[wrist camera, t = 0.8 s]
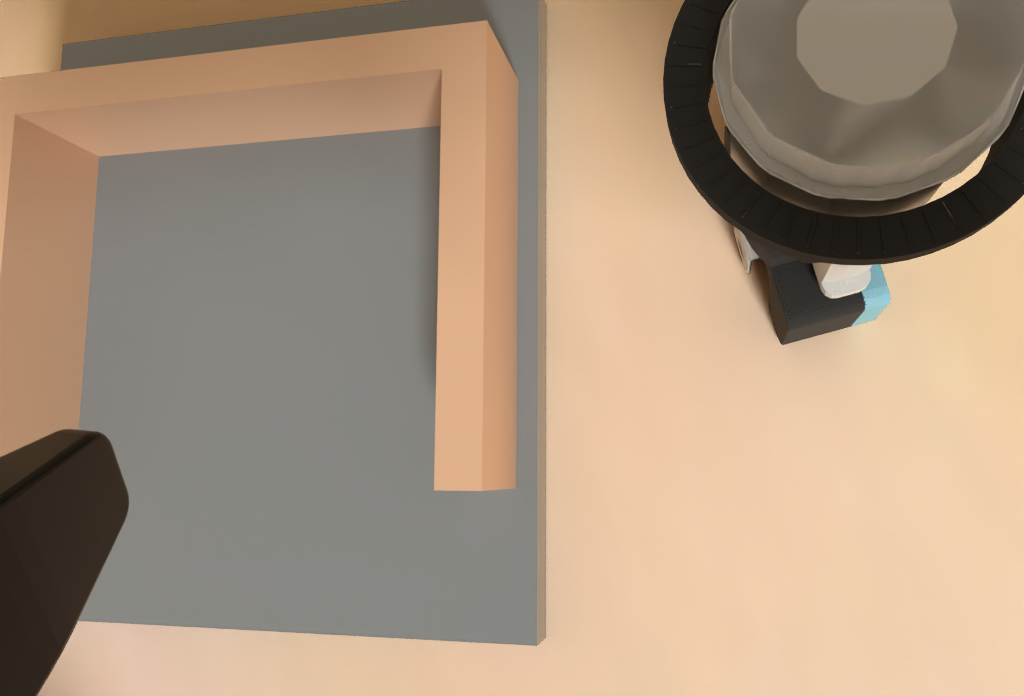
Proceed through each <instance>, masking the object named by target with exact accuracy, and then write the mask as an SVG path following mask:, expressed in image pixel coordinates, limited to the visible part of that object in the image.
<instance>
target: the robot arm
mask: <svg viewBox="0 0 1024 696" xmlns="http://www.w3.org/2000/svg"><path fill="white" fill-rule="evenodd" d="M128 509H129V494H128V490H127V487H126V485H125V482H124V479H123V476H122V473H121V470H120V467H119V464H118V461H117V458H116V455H115V452H114V450H113V447H112V444H111V442H110V440H109V439H108V438H107V437H106V436H105V435H104V434H102V433H100V432H97V431H88V430H77V429H63V430H59V431H56V432H54V433H52V434H50V435H47V436H45V437H43V438H41V439H39V440H36V441H34V442H32V443H30V444H28V445H25V446H23V447H21V448H19V449H17V450H14V451H12V452H10V453H8V454H6V455H3V456H1V457H0V696H37V695H38V693H39V691H40V690H41V688H42V686H43V685H44V683H45V681H46V680H47V678H48V676H49V675H50V673H51V671H52V669H53V668H54V666H55V664H56V662H57V661H58V659H59V657H60V655H61V654H62V652H63V650H64V648H65V646H66V644H67V642H68V640H69V638H70V636H71V634H72V632H73V630H74V628H75V626H76V624H77V622H78V619H79V617H80V615H81V613H82V611H83V609H84V607H85V605H86V603H87V600H88V598H89V596H90V594H91V592H92V590H93V588H94V586H95V584H96V581H97V579H98V577H99V575H100V573H101V571H102V569H103V567H104V564H105V562H106V560H107V558H108V556H109V554H110V552H111V550H112V548H113V545H114V543H115V541H116V539H117V537H118V535H119V533H120V531H121V528H122V526H123V524H124V522H125V520H126V517H127V513H128Z"/></svg>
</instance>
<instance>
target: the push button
mask: <svg viewBox="0 0 1024 696" xmlns="http://www.w3.org/2000/svg"><path fill="white" fill-rule="evenodd" d="M713 82H714V84H715V88H716V92H717V96H718V100H719V103H720V107H721V111H722V115H723V119H724V121H725V123H726V125H727V126H726V127H725V147H724V146H723V144H722V143H721V141H720V138H719V136H718V134H717V132H716V130H715V128H714V125H713V122H712V119H711V116H710V113H709V109H708V102H709V97H710V93H711V88H712V85H713ZM663 86H664V102H665V109H666V117H667V123H668V127H669V131H670V135H671V139H672V143H673V145H674V148H675V151H676V153H677V156H678V158H679V161H680V163H681V164H682V166H683V168H684V170H685V172H686V174H687V176H688V177H689V179H690V180H691V182H692V183H693V185H694V186H695V188H696V189H697V191H698V192H699V193H700V194H701V196H702V197H703V198H704V199H705V200H706V201H707V202H708V204H709V205H710V206H711V207H712V208H713V209H714V210H715V211H716V212H717V213H718V214H720V215H721V216H722V217H723V218H724V219H725V220H726V221H727V222H729V223H730V224H732V225H733V226H734V234H735V238H736V242H737V245H738V248H739V252H740V255H741V258H742V261H743V265H744V268H745V270H746V273H747V274H748V273H750V270H751V261H752V260H754V259H757V258H761V259H762V260H763V261H764V262H765V265H766V268H767V272H768V277H769V307H770V312H771V316H772V319H773V323H774V326H775V329H776V332H777V336H778V338H779V341H780V343H781V344H782V345H784V344H788V343H791V342H795V341H799V340H802V339H806V338H810V337H813V336H817V335H821V334H825V333H828V332H832V331H836V330H839V329H843V328H847V327H850V326H854V325H858V324H861V323H865V322H869V321H872V320H875V319H876V318H877V316H878V315H879V314H880V313H881V312H882V311H883V310H884V309H885V308H886V307H887V306H888V305H889V304H890V293H889V289H888V286H887V283H886V280H885V277H884V274H883V271H882V268H881V265H880V264H888V263H893V262H899V261H905V260H910V259H913V258H917V257H920V256H924V255H928V254H931V253H934V252H936V251H939V250H941V249H944V248H946V247H949V246H952V245H954V244H956V243H958V242H960V241H961V240H963V239H965V238H967V237H969V236H971V235H973V234H975V233H976V232H978V231H979V230H981V229H982V228H984V227H986V226H987V225H989V224H990V223H992V222H993V221H994V220H995V219H997V218H998V217H999V216H1000V215H1002V214H1003V213H1004V212H1005V211H1007V210H1008V209H1009V208H1010V207H1011V206H1012V205H1013V204H1015V203H1016V202H1017V201H1018V200H1019V199H1020V198H1021V197H1022V196H1023V195H1024V0H685V1H684V3H683V5H682V7H681V9H680V12H679V14H678V16H677V18H676V21H675V23H674V26H673V29H672V32H671V36H670V39H669V42H668V47H667V52H666V57H665V65H664V77H663ZM990 146H991V148H990V151H989V154H988V156H987V158H986V160H985V162H984V164H983V166H982V168H981V170H980V172H979V173H978V174H977V175H976V176H974V177H973V178H972V179H970V180H969V181H968V182H966V183H965V184H964V185H962V186H961V187H959V188H958V189H956V190H954V191H952V192H951V193H949V194H947V195H945V196H944V197H942V198H939V199H937V200H935V201H932V202H930V203H928V204H926V203H927V202H928V201H929V200H930V198H931V197H932V196H933V195H934V193H935V192H936V191H937V189H938V188H939V187H940V186H941V184H942V183H943V182H945V181H947V180H949V179H950V178H952V177H954V176H956V175H957V174H959V173H961V172H962V171H963V170H964V169H965V168H967V167H968V166H969V165H970V164H971V163H972V162H973V161H974V160H975V159H977V158H978V157H979V156H980V155H981V154H982V153H983V152H984V151H985V150H987V149H988V148H989V147H990ZM924 204H926V205H924Z"/></svg>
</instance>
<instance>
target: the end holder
mask: <svg viewBox="0 0 1024 696" xmlns="http://www.w3.org/2000/svg"><path fill="white" fill-rule="evenodd" d="M63 429H77V430H88V431H97V432H100V433H102V434H104V435H105V436H106V437H107V438H108V439H109V440H110V442H111V444H112V447H113V450H114V452H115V455H116V458H117V461H118V464H119V467H120V470H121V473H122V476H123V479H124V482H125V485H126V487H127V490H128V494H129V509H128V513H127V517H126V520H125V522H124V524H123V526H122V528H121V531H120V533H119V535H118V537H117V539H116V541H115V543H114V545H113V548H112V550H111V552H110V554H109V556H108V558H107V560H106V562H105V564H104V567H103V569H102V571H101V573H100V575H99V577H98V579H97V581H96V584H95V586H94V588H93V590H92V592H91V594H90V596H89V598H88V600H87V603H86V605H85V607H84V609H83V611H82V613H81V615H80V617H79V619H78V621H92V622H110V623H129V624H147V625H165V626H184V627H202V628H221V629H239V630H258V631H276V632H295V633H313V634H331V635H350V636H368V637H387V638H405V639H424V640H442V641H460V642H479V643H497V644H516V645H534V646H537V645H538V644H539V643H540V642H541V641H543V640H544V639H545V638H546V3H545V0H409V1H401V2H393V3H385V4H377V5H370V6H362V7H354V8H346V9H338V10H330V11H322V12H314V13H306V14H298V15H290V16H282V17H274V18H267V19H259V20H251V21H243V22H235V23H227V24H219V25H211V26H203V27H195V28H187V29H179V30H172V31H164V32H156V33H148V34H140V35H132V36H124V37H116V38H108V39H100V40H92V41H84V42H76V43H69V44H63V52H62V64H61V71H53V72H45V73H36V74H28V75H19V76H11V77H2V78H0V457H1V456H3V455H6V454H8V453H10V452H12V451H14V450H17V449H19V448H21V447H23V446H25V445H28V444H30V443H32V442H34V441H36V440H39V439H41V438H43V437H45V436H47V435H50V434H52V433H54V432H56V431H59V430H63Z"/></svg>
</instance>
